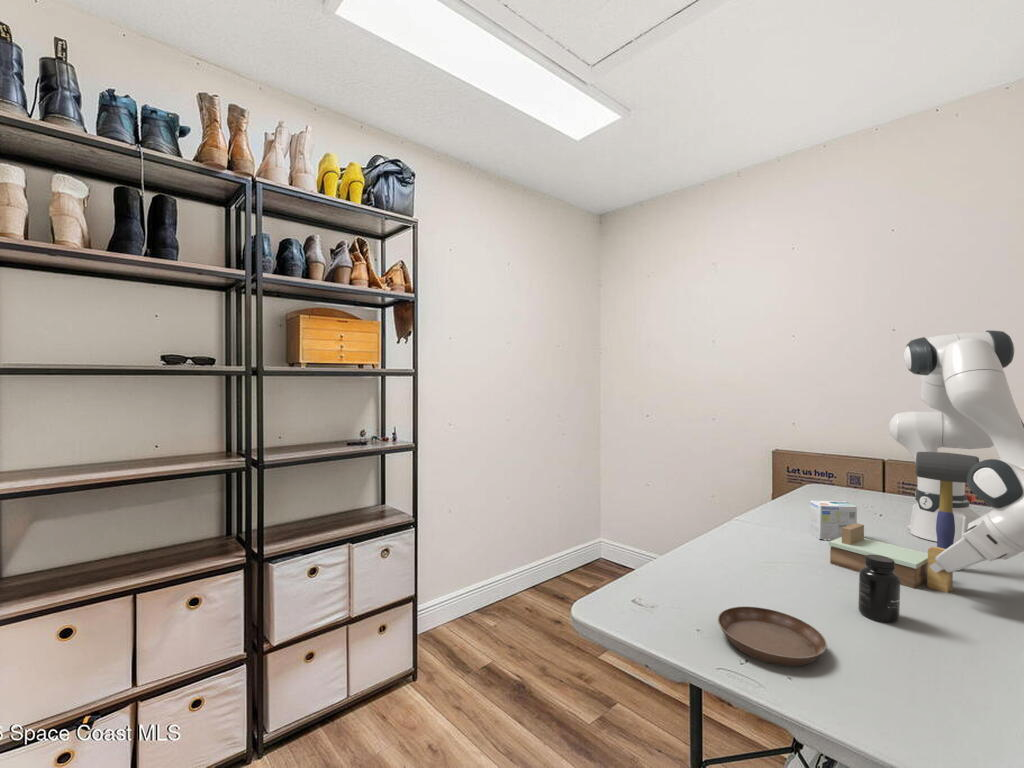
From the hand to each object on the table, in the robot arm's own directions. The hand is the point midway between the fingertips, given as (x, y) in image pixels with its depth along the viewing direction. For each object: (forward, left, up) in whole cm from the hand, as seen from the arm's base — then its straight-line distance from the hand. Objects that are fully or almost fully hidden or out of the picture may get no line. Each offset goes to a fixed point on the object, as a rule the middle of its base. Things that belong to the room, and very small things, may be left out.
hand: (936, 566), depth 115 cm
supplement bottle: (+27, +8, -5) cm, 29 cm away
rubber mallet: (-15, -9, -5) cm, 18 cm away
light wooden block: (0, +1, -5) cm, 5 cm away
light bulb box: (-7, -35, -5) cm, 36 cm away
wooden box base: (+4, -11, -5) cm, 12 cm away
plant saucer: (+57, +12, -5) cm, 58 cm away
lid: (+4, -11, 0) cm, 11 cm away
